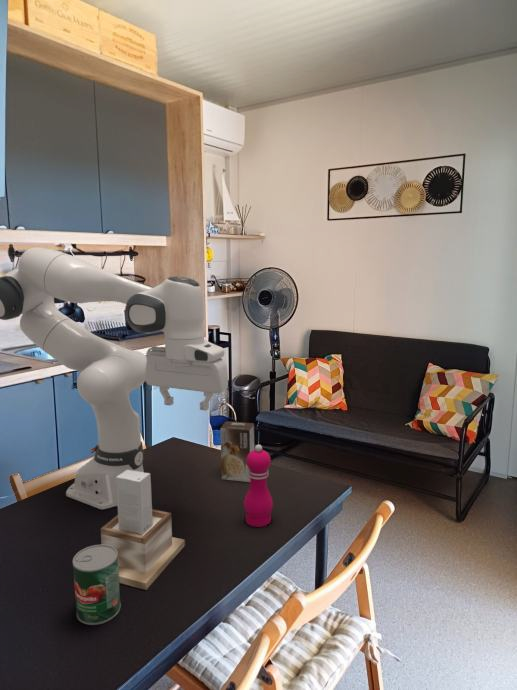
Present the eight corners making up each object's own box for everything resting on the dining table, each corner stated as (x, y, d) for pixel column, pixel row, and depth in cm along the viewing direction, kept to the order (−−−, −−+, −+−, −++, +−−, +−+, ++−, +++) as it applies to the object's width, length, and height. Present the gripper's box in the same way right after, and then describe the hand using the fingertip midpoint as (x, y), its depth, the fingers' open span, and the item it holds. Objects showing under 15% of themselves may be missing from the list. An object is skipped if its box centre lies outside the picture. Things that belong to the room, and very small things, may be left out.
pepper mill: (269, 529, 119) (270, 451, 116) (240, 526, 121) (240, 449, 117) (274, 514, 126) (275, 440, 123) (247, 511, 128) (247, 438, 124)
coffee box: (255, 473, 150) (255, 422, 147) (250, 482, 143) (250, 430, 140) (226, 470, 152) (226, 420, 149) (220, 479, 146) (219, 427, 143)
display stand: (87, 574, 103) (85, 533, 101) (132, 533, 117) (130, 497, 116) (146, 590, 98) (144, 547, 96) (184, 545, 113) (183, 508, 111)
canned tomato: (123, 593, 97) (120, 542, 95) (117, 623, 89) (114, 568, 87) (81, 597, 96) (78, 545, 94) (71, 627, 88) (67, 571, 86)
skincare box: (153, 525, 106) (151, 473, 104) (142, 535, 103) (140, 481, 100) (129, 519, 109) (127, 468, 106) (117, 529, 105) (114, 477, 102)
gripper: (138, 348, 114) (140, 405, 116) (218, 355, 106) (219, 416, 109) (153, 343, 119) (156, 398, 122) (230, 349, 112) (231, 408, 115)
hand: (186, 407), depth 115 cm, fingers open, 8 cm apart
